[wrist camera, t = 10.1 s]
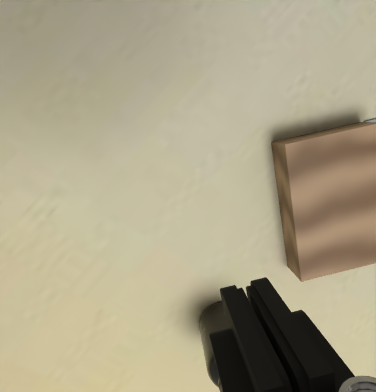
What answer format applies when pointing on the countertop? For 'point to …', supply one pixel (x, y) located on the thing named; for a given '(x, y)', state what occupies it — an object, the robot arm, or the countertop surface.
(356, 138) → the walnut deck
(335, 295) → the countertop surface
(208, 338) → the supplement bottle
